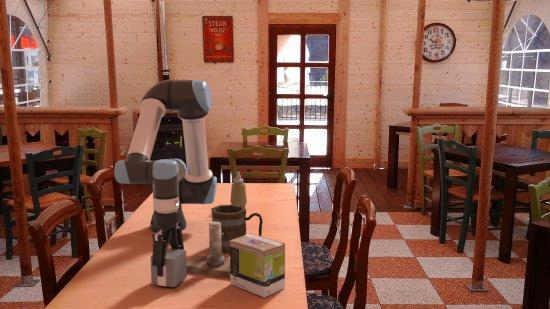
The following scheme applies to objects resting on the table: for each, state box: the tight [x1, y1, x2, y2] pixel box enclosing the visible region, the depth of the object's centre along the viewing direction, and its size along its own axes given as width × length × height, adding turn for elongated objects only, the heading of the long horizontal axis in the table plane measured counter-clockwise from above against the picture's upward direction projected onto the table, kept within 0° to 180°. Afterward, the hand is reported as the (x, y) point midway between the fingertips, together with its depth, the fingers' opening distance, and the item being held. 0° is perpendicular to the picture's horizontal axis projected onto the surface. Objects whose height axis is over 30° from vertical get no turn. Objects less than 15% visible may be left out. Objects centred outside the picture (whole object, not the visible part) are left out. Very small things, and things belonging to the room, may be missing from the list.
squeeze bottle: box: [230, 171, 248, 208], centre depth 240 cm, size 8×8×18 cm
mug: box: [210, 203, 264, 255], centre depth 187 cm, size 20×14×15 cm
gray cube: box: [150, 247, 188, 288], centre depth 156 cm, size 8×8×9 cm
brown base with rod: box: [186, 221, 230, 279], centre depth 167 cm, size 20×10×16 cm, turn 72°
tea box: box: [229, 233, 286, 298], centre depth 154 cm, size 15×10×15 cm
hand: (169, 279), depth 157 cm, fingers closed on gray cube, 8 cm apart
